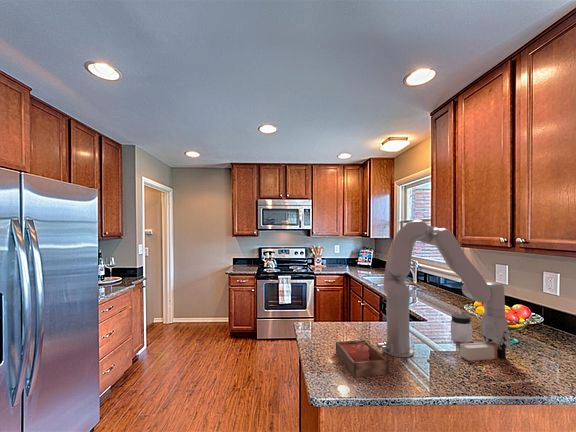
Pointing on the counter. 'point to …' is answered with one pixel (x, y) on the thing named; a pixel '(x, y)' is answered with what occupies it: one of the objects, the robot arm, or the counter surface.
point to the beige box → (477, 351)
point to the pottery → (357, 351)
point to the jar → (461, 328)
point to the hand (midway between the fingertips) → (495, 355)
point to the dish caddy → (367, 367)
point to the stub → (495, 348)
